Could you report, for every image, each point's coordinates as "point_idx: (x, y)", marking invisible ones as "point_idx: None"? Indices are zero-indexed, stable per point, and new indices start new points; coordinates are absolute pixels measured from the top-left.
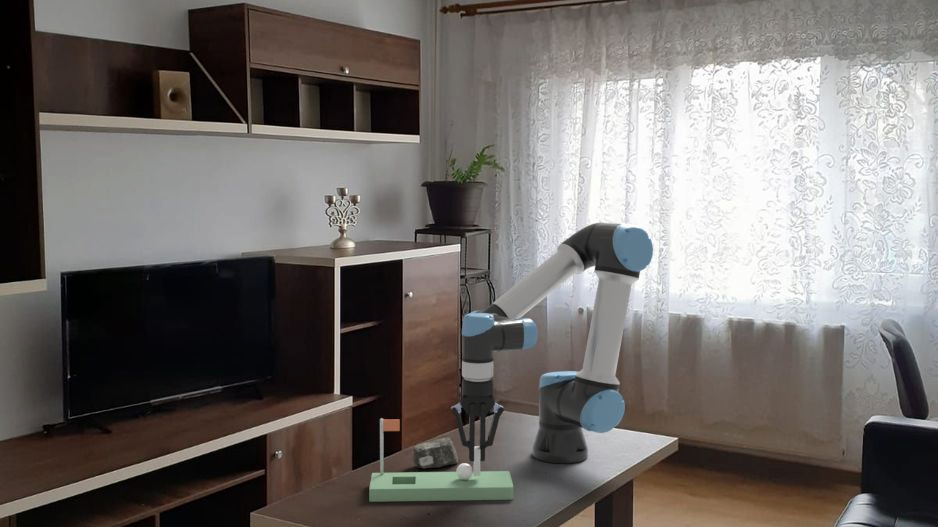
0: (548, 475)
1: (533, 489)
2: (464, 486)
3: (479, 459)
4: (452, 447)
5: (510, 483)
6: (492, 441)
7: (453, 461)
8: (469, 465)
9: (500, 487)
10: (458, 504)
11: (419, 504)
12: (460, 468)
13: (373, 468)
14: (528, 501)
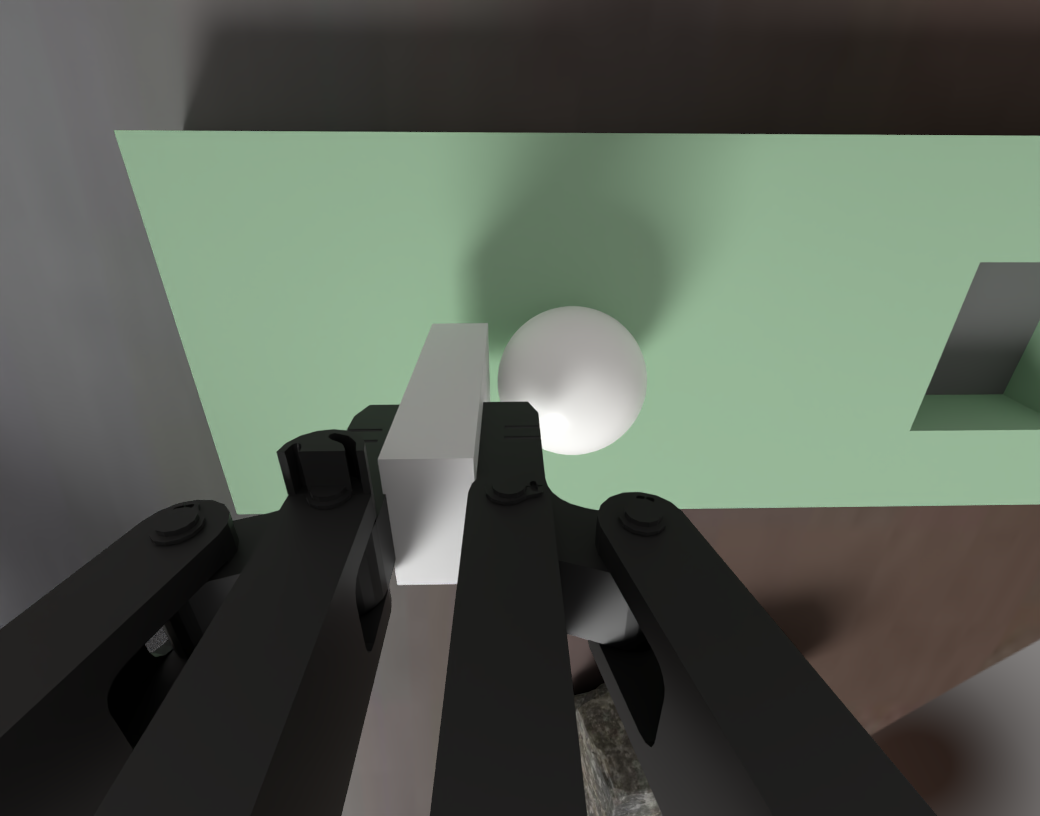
0: (60, 566)
1: (84, 350)
2: (581, 174)
3: (416, 388)
4: (593, 788)
5: (168, 241)
6: (112, 559)
7: (581, 701)
8: (530, 398)
9: (243, 132)
10: (629, 27)
11: (940, 47)
12: (622, 354)
13: (965, 657)
14: (47, 77)
